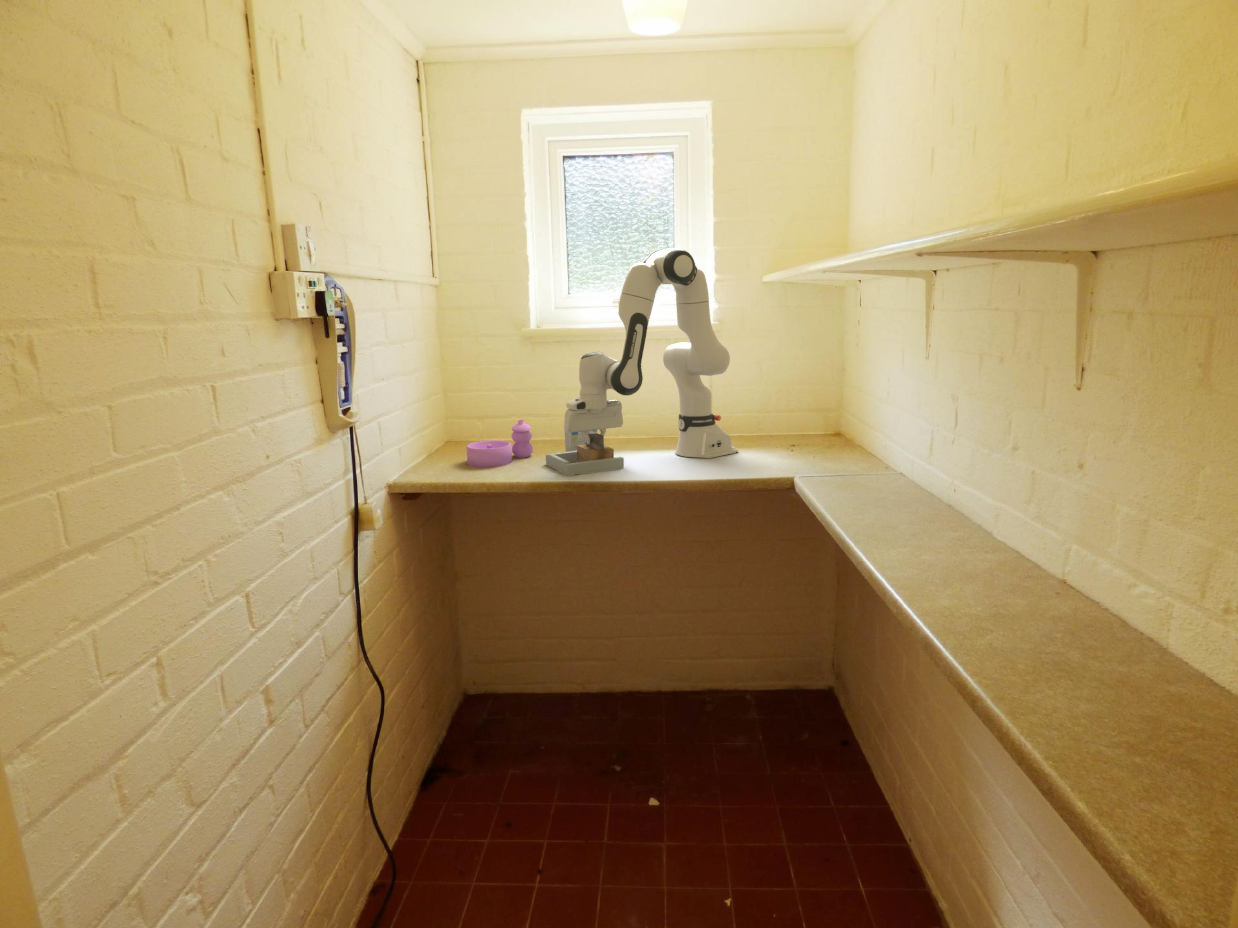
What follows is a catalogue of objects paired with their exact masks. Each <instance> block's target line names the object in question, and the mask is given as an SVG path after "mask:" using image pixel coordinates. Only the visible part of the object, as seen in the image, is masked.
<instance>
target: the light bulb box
mask: <svg viewBox="0 0 1238 928" xmlns="http://www.w3.org/2000/svg"><path fill="white" fill-rule="evenodd" d="M563 428H564V445H565V452H569V451H577V445H584V444H586V437H585V436H584V434H583V431H581V432H573V433H570V432H567V431H566V430H565V427H563ZM589 432H595V433H598V434H599V432H598V430H590V431H589Z"/></svg>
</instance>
